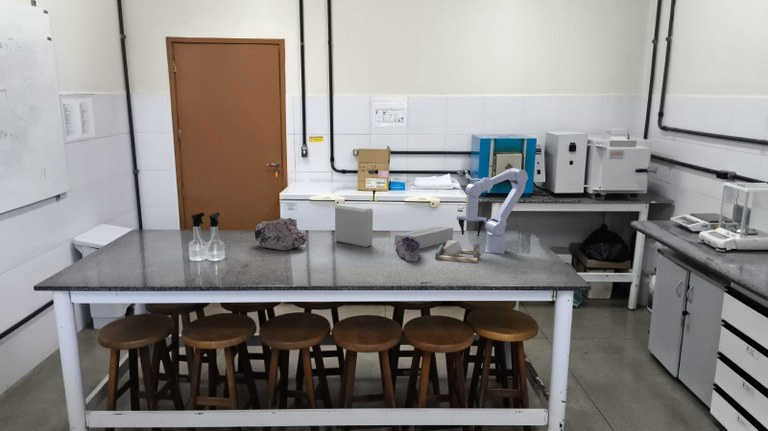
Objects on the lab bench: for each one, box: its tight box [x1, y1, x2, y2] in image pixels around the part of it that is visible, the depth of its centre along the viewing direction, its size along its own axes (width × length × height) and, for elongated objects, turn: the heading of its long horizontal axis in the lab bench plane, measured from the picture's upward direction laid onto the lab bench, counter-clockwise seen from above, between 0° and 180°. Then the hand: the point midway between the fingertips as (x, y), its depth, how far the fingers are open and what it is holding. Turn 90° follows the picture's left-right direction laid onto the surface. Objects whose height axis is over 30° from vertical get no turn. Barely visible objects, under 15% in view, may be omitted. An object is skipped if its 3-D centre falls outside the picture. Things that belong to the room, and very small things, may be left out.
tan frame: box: [434, 243, 481, 264], centre depth 274 cm, size 20×16×7 cm
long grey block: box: [394, 226, 454, 250], centre depth 298 cm, size 30×14×8 cm, turn 134°
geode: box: [395, 237, 421, 263], centre depth 272 cm, size 20×12×10 cm, turn 12°
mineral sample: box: [254, 217, 307, 251], centre depth 286 cm, size 27×19×15 cm
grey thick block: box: [334, 203, 374, 248], centre depth 293 cm, size 21×8×20 cm, turn 58°
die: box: [443, 239, 463, 257], centre depth 274 cm, size 8×9×10 cm
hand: (470, 235), depth 279 cm, fingers open, 7 cm apart
